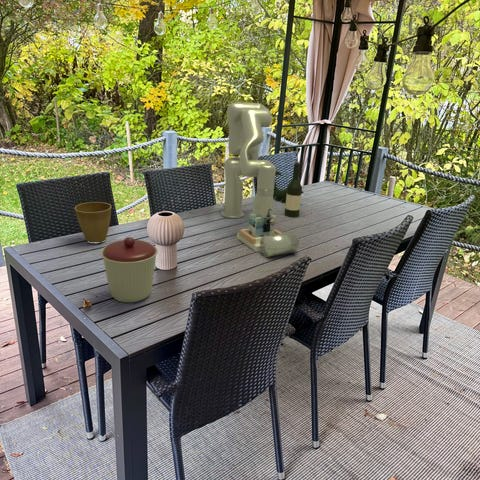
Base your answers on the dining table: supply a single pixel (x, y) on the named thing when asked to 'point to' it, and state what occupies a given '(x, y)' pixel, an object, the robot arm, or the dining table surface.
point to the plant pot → (94, 220)
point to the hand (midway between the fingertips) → (262, 228)
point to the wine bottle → (293, 194)
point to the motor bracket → (270, 242)
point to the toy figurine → (280, 191)
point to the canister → (129, 269)
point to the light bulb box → (260, 226)
